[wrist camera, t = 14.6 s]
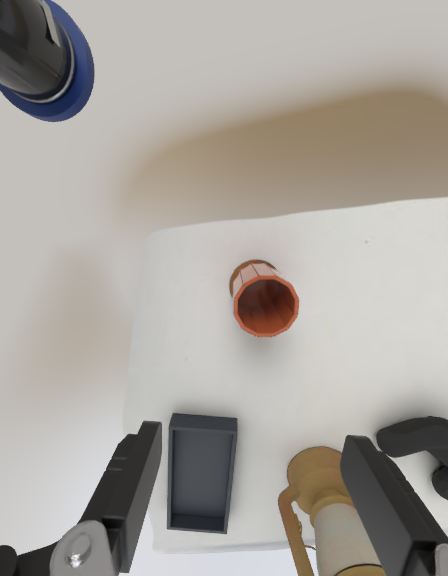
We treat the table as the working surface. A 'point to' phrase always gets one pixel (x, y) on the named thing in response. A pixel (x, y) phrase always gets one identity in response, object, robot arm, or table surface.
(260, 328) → the cup
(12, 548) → the robot arm
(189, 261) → the table surface
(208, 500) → the tray
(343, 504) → the lantern
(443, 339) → the table surface
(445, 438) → the gaming controller
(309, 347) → the table surface
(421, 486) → the table surface
